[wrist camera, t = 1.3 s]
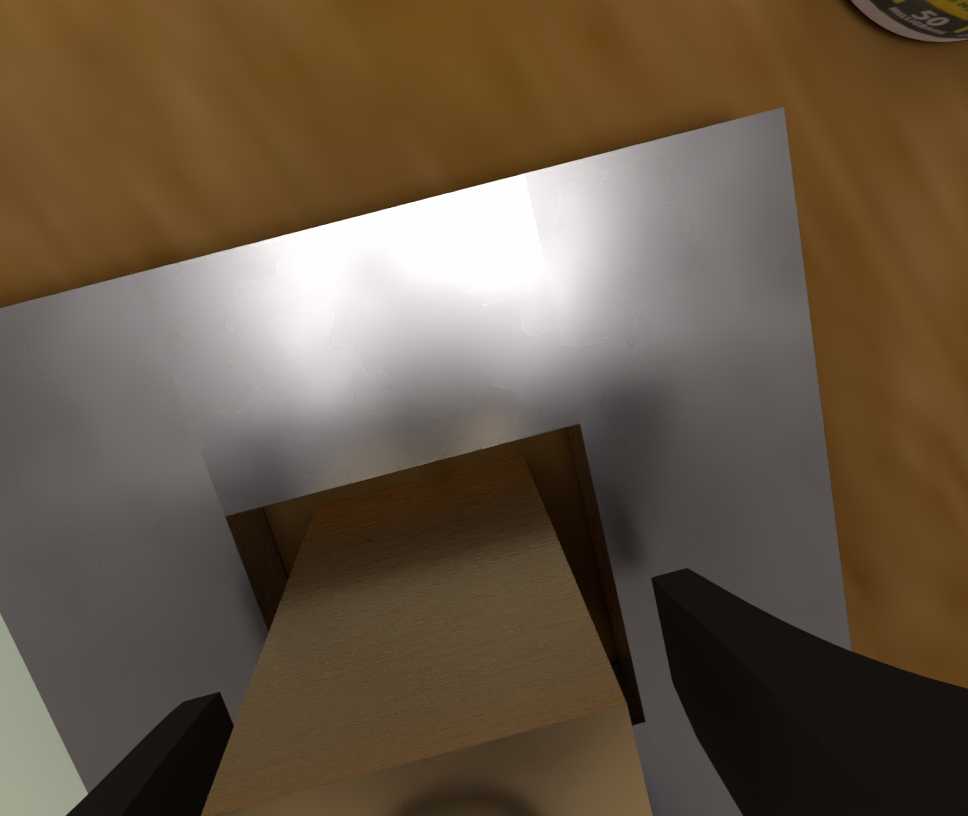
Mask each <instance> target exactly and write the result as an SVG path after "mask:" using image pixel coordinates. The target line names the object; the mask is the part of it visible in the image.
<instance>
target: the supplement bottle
mask: <svg viewBox="0 0 968 816" xmlns="http://www.w3.org/2000/svg"><path fill="white" fill-rule="evenodd" d="M851 1H852V2H853V3H854V4H855V5H856V6H857V7H858V9H859V10H860V11H862V12H863V13H864V14H865V15H866V16H868V17H869V18H870V19H871V20H873V21H874V22H876V23H877V24H879V25H880V26H882V27H884V28H885V29H887V30H890V31H892V32H894V33H896V34H899V35H901V36H904V37H908V38H912V39H916V40H923V41H933V42H951V41H961V40H967V39H968V0H851Z"/></svg>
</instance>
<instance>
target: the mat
mask: <svg viewBox="0 0 968 816" xmlns="http://www.w3.org/2000/svg"><path fill="white" fill-rule="evenodd" d="M87 795H88V793H87V791H86V789H85V786H84V784H83V782H82V780H81V778H80V776H79V774H78V772H77V770H76V768H75V766H74V764H73V762H72V760H71V758H70V756H69V754H68V752H67V749H66V747H65V745H64V743H63V741H62V739H61V737H60V735H59V733H58V731H57V729H56V727H55V725H54V723H53V721H52V719H51V717H50V714H49V712H48V710H47V708H46V706H45V704H44V702H43V700H42V698H41V696H40V694H39V692H38V690H37V688H36V686H35V684H34V682H33V680H32V677H31V675H30V673H29V671H28V669H27V667H26V665H25V663H24V661H23V659H22V657H21V655H20V653H19V651H18V649H17V647H16V645H15V642H14V640H13V638H12V636H11V634H10V632H9V630H8V628H7V626H6V624H5V622H4V620H3V618H2V616H1V614H0V816H66V815H67V814H68V813H69V812H70V811H71V810H72V809H73V808H74V807H75V806H76V805H77V804H78V803H79V802H81V801H82V800H83V799H84V798H85V797H86V796H87Z"/></svg>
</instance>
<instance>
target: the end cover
mask: <svg viewBox="0 0 968 816" xmlns="http://www.w3.org/2000/svg"><path fill="white" fill-rule="evenodd" d="M201 816H652V812H651V807H650V803H649V798H648V794H647V790H646V785H645V781H644V776H643V772H642V768H641V763H640V759H639V754H638V750H637V746H636V741H635V737H634V732H633V728H632V724H631V719H630V715H629V711H628V706H627V703H626V701H625V698H624V696H623V693H622V691H621V689H620V686H619V684H618V681H617V679H616V677H615V674H614V672H613V669H612V667H611V665H610V662H609V660H608V657H607V655H606V653H605V650H604V648H603V645H602V643H601V641H600V638H599V636H598V633H597V631H596V629H595V626H594V624H593V621H592V619H591V617H590V614H589V612H588V610H587V607H586V605H585V602H584V600H583V598H582V595H581V593H580V590H579V588H578V586H577V583H576V581H575V578H574V576H573V574H572V571H571V569H570V566H569V564H568V562H567V559H566V557H565V554H564V552H563V550H562V547H561V545H560V542H559V540H558V538H557V535H556V533H555V530H554V528H553V526H552V523H551V521H550V518H549V516H548V514H547V511H546V509H545V507H544V504H543V502H542V499H541V497H540V495H539V492H538V490H537V487H536V485H535V483H534V480H533V478H532V475H531V473H530V471H529V468H528V466H527V463H526V461H525V459H524V456H523V454H518V455H514V456H510V457H507V458H503V459H499V460H495V461H491V462H488V463H484V464H480V465H476V466H472V467H469V468H465V469H461V470H457V471H453V472H449V473H446V474H442V475H438V476H434V477H430V478H427V479H423V480H419V481H415V482H411V483H407V484H404V485H400V486H396V487H392V488H388V489H385V490H381V491H377V492H373V493H369V494H366V495H362V496H358V497H354V498H350V499H346V500H343V501H339V502H335V503H331V504H327V505H324V506H320V507H316V508H315V509H314V512H313V514H312V517H311V520H310V523H309V525H308V528H307V531H306V533H305V536H304V539H303V541H302V544H301V547H300V550H299V552H298V555H297V558H296V560H295V563H294V566H293V568H292V571H291V574H290V577H289V579H288V582H287V585H286V587H285V590H284V593H283V595H282V598H281V601H280V604H279V606H278V609H277V612H276V614H275V617H274V620H273V622H272V625H271V628H270V631H269V633H268V636H267V639H266V641H265V644H264V647H263V649H262V652H261V655H260V658H259V660H258V663H257V666H256V668H255V671H254V674H253V676H252V679H251V682H250V685H249V687H248V690H247V693H246V695H245V698H244V701H243V703H242V706H241V709H240V712H239V714H238V717H237V720H236V722H235V725H234V728H233V730H232V733H231V736H230V739H229V741H228V744H227V747H226V749H225V752H224V755H223V757H222V760H221V763H220V766H219V768H218V771H217V774H216V776H215V779H214V782H213V784H212V787H211V790H210V793H209V795H208V798H207V801H206V803H205V806H204V809H203V811H202V814H201Z"/></svg>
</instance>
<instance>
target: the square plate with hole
mask: <svg viewBox="0 0 968 816" xmlns="http://www.w3.org/2000/svg"><path fill="white" fill-rule="evenodd" d="M565 427H566V428H567V432H568V436H569V441H570V445H571V450H572V454H573V459H574V463H575V467H576V472H577V476H578V481H579V485H580V490H581V494H582V498H583V503H584V507H585V512H586V516H587V520H588V525H589V529H590V534H591V538H592V543H593V547H594V551H595V556H596V560H597V565H598V569H599V573H600V578H601V582H602V587H603V591H604V596H605V600H606V604H607V609H608V613H609V618H610V622H611V626H612V631H613V635H614V640H615V644H616V649H617V653H618V657H619V662H620V663H616V664H613V665H611V667H612V669H613V672H614V674H615V677H616V679H617V681H618V684H619V686H620V689H621V691H622V693H623V696H624V698H625V701H626V703H627V706H628V711H629V715H630V719H631V724H632V728H633V732H634V737H635V741H636V746H637V750H638V754H639V759H640V763H641V768H642V772H643V776H644V781H645V785H646V790H647V794H648V798H649V803H650V807H651V812H652V816H743V815H742V813H741V812H740V810H739V808H738V807H737V805H736V803H735V802H734V800H733V798H732V797H731V795H730V793H729V792H728V790H727V788H726V787H725V785H724V783H723V782H722V780H721V778H720V776H719V775H718V773H717V771H716V770H715V768H714V766H713V765H712V763H711V761H710V759H709V758H708V756H707V754H706V753H705V751H704V749H703V748H702V746H701V744H700V742H699V741H698V739H697V737H696V735H695V733H694V730H693V728H692V726H691V724H690V722H689V719H688V717H687V715H686V713H685V710H684V708H683V706H682V704H681V701H680V699H679V697H678V694H677V692H676V690H675V687H674V685H673V683H672V678H671V673H670V669H669V664H668V659H667V654H666V649H665V644H664V639H663V634H662V629H661V625H660V620H659V615H658V610H657V605H656V600H655V595H654V590H653V585H652V580H651V577H655V576H658V575H662V574H666V573H670V572H673V571H677V570H681V569H685V568H688V569H690V570H692V571H694V572H696V573H697V574H699V575H701V576H703V577H704V578H706V579H708V580H709V581H711V582H713V583H715V584H716V585H718V586H720V587H722V588H723V589H725V590H727V591H729V592H730V593H732V594H734V595H736V596H737V597H739V598H741V599H743V600H745V601H746V602H748V603H750V604H752V605H754V606H756V607H757V608H759V609H761V610H763V611H765V612H767V613H769V614H771V615H773V616H775V617H777V618H779V619H781V620H783V621H785V622H787V623H789V624H791V625H793V626H795V627H797V628H799V629H801V630H803V631H806V632H808V633H810V634H812V635H815V636H817V637H819V638H821V639H823V640H826V641H828V642H830V643H832V644H835V645H837V646H839V647H842V648H844V649H847V650H849V651H852V650H851V642H850V634H849V626H848V618H847V610H846V602H845V594H844V586H843V578H842V570H841V562H840V554H839V546H838V538H837V530H836V522H835V514H834V506H833V497H832V489H831V481H830V473H829V465H828V457H827V449H826V441H825V433H824V425H823V417H822V409H821V401H820V393H819V385H818V377H817V369H816V361H815V353H814V345H813V337H812V329H811V321H810V313H809V305H808V297H807V289H806V281H805V273H804V265H803V257H802V249H801V241H800V232H799V224H798V216H797V208H796V200H795V192H794V184H793V176H792V168H791V160H790V152H789V144H788V136H787V128H786V120H785V112H784V107H782V108H778V109H774V110H770V111H767V112H763V113H759V114H755V115H751V116H747V117H743V118H739V119H735V120H732V121H728V122H724V123H720V124H716V125H712V126H708V127H704V128H700V129H696V130H693V131H689V132H685V133H681V134H677V135H673V136H669V137H665V138H661V139H658V140H654V141H650V142H646V143H642V144H638V145H634V146H630V147H626V148H622V149H619V150H615V151H611V152H607V153H603V154H599V155H595V156H591V157H587V158H584V159H580V160H576V161H572V162H568V163H564V164H560V165H556V166H552V167H548V168H545V169H541V170H537V171H533V172H529V173H525V174H521V175H517V176H513V177H509V178H506V179H502V180H498V181H494V182H490V183H486V184H482V185H478V186H474V187H471V188H467V189H463V190H459V191H455V192H451V193H447V194H443V195H439V196H435V197H432V198H428V199H424V200H420V201H416V202H412V203H408V204H404V205H400V206H397V207H393V208H389V209H385V210H381V211H377V212H373V213H369V214H365V215H361V216H358V217H354V218H350V219H346V220H342V221H338V222H334V223H330V224H326V225H323V226H319V227H315V228H311V229H307V230H303V231H299V232H295V233H291V234H287V235H284V236H280V237H276V238H272V239H268V240H264V241H260V242H256V243H252V244H248V245H245V246H241V247H237V248H233V249H229V250H225V251H221V252H217V253H213V254H210V255H206V256H202V257H198V258H194V259H190V260H186V261H182V262H178V263H174V264H171V265H167V266H163V267H159V268H155V269H151V270H147V271H143V272H139V273H136V274H132V275H128V276H124V277H120V278H116V279H112V280H108V281H104V282H100V283H97V284H93V285H89V286H85V287H81V288H77V289H73V290H69V291H65V292H62V293H58V294H54V295H50V296H46V297H42V298H38V299H34V300H30V301H26V302H23V303H19V304H15V305H11V306H7V307H3V308H0V614H1V616H2V618H3V620H4V622H5V624H6V626H7V628H8V630H9V632H10V634H11V636H12V638H13V640H14V642H15V645H16V647H17V649H18V651H19V653H20V655H21V657H22V659H23V661H24V663H25V665H26V667H27V669H28V671H29V673H30V675H31V677H32V680H33V682H34V684H35V686H36V688H37V690H38V692H39V694H40V696H41V698H42V700H43V702H44V704H45V706H46V708H47V710H48V712H49V714H50V717H51V719H52V721H53V723H54V725H55V727H56V729H57V731H58V733H59V735H60V737H61V739H62V741H63V743H64V745H65V747H66V749H67V752H68V754H69V756H70V758H71V760H72V762H73V764H74V766H75V768H76V770H77V772H78V774H79V776H80V778H81V780H82V782H83V784H84V786H85V789H86V791H87V793H88V794H89V793H90V792H91V791H92V790H93V789H94V788H95V787H96V786H97V785H98V784H99V783H100V782H101V781H102V780H103V779H104V778H105V777H106V776H107V775H108V774H109V773H110V772H111V771H112V770H113V769H114V768H115V767H116V766H117V765H118V764H119V763H120V762H121V761H122V760H123V759H124V758H125V757H126V756H127V755H128V754H129V753H130V752H131V751H132V750H133V749H134V747H135V746H136V745H137V744H138V743H139V742H140V741H141V740H142V739H143V738H144V737H145V736H146V735H147V734H148V733H149V732H150V731H152V730H153V729H154V728H155V727H156V726H157V725H158V724H159V723H160V722H161V721H162V720H163V719H164V718H165V717H166V716H167V715H168V714H169V713H170V712H172V711H173V710H174V709H175V708H176V707H177V706H179V705H180V704H181V703H182V702H183V701H187V700H191V699H194V698H198V697H202V696H206V695H209V694H213V693H217V692H220V693H221V695H222V698H223V700H224V703H225V705H226V707H227V710H228V712H229V715H230V717H231V720H232V722H233V725H235V722H236V720H237V717H238V714H239V712H240V709H241V706H242V703H243V701H244V698H245V695H246V693H247V690H248V687H249V685H250V682H251V679H252V676H253V674H254V671H255V668H256V666H257V663H258V660H259V658H260V655H261V652H262V649H263V647H264V644H265V641H266V639H267V636H268V633H269V631H270V628H271V625H272V622H273V620H274V617H275V614H276V612H277V609H278V606H279V604H280V601H281V598H282V595H283V593H284V590H285V587H286V585H287V582H288V578H287V575H286V572H285V570H284V567H283V564H282V561H281V559H280V556H279V553H278V550H277V547H276V545H275V542H274V539H273V536H272V533H271V531H270V528H269V525H268V522H267V519H266V517H265V514H264V511H263V508H262V507H263V506H267V505H271V504H274V503H278V502H282V501H286V500H290V499H293V498H297V497H301V496H305V495H309V494H313V493H316V492H320V491H324V490H328V489H332V488H335V487H339V486H343V485H347V484H351V483H355V482H358V481H362V480H366V479H370V478H374V477H377V476H381V475H385V474H389V473H393V472H397V471H400V470H404V469H408V468H412V467H416V466H420V465H423V464H427V463H431V462H435V461H439V460H442V459H446V458H450V457H454V456H458V455H462V454H465V453H469V452H473V451H477V450H481V449H484V448H488V447H492V446H496V445H500V444H504V443H507V442H511V441H515V440H519V439H523V438H526V437H530V436H534V435H538V434H542V433H546V432H549V431H553V430H557V429H561V428H565Z"/></svg>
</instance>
